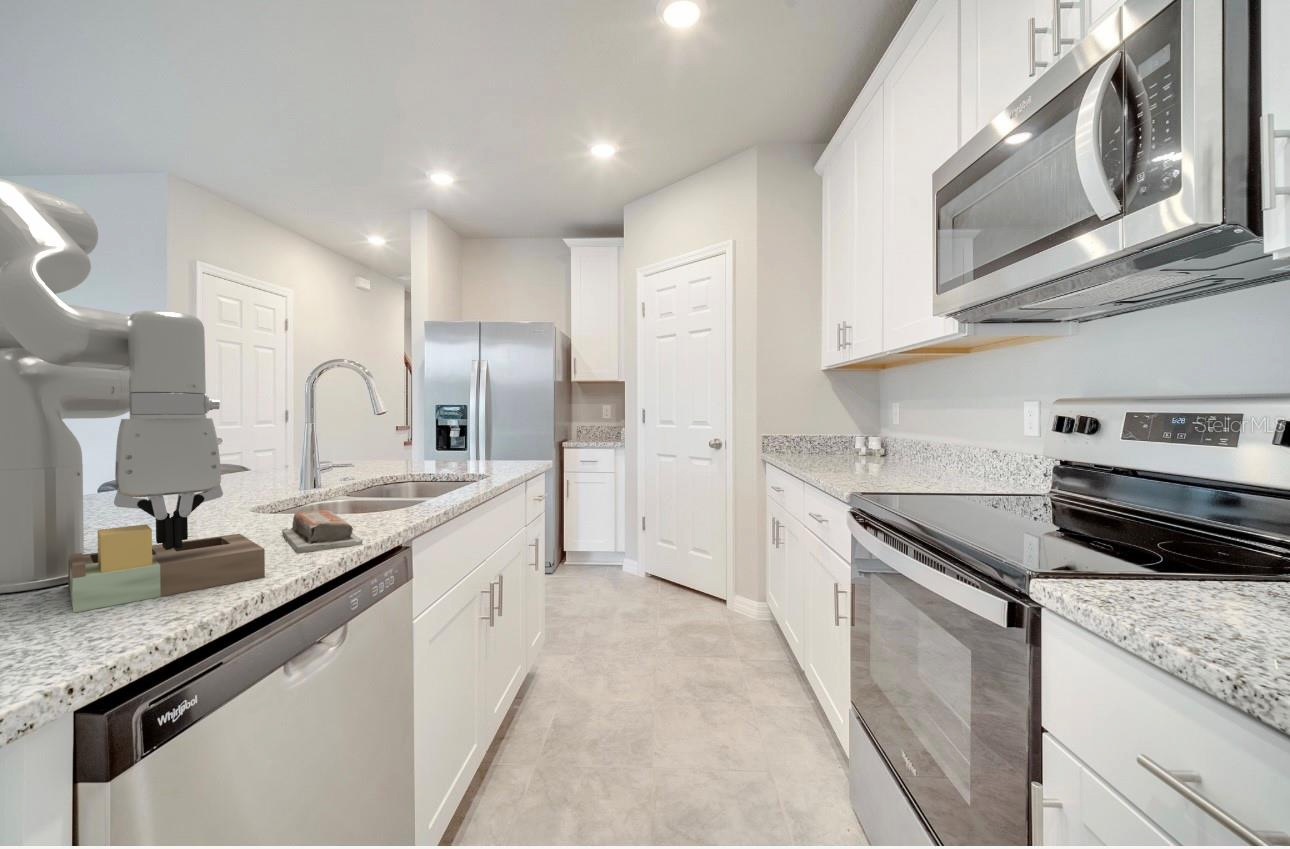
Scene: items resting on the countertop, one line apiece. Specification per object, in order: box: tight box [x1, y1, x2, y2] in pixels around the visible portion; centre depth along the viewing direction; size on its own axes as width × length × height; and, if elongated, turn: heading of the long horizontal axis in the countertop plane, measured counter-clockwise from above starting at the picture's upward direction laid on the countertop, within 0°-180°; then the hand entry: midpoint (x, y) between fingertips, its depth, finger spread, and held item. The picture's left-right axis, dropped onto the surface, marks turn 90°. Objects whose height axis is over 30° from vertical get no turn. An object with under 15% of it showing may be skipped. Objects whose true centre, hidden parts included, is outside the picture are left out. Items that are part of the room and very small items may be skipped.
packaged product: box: [281, 509, 363, 554], centre depth 98 cm, size 18×5×10 cm
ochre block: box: [97, 524, 153, 573], centre depth 67 cm, size 4×4×4 cm
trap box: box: [67, 533, 266, 614], centre depth 74 cm, size 14×18×6 cm
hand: (172, 547), depth 71 cm, fingers closed
